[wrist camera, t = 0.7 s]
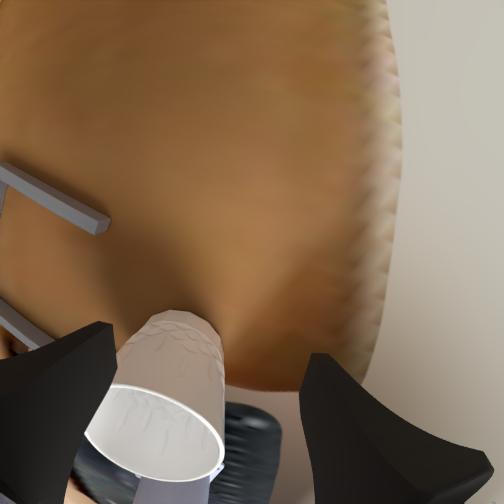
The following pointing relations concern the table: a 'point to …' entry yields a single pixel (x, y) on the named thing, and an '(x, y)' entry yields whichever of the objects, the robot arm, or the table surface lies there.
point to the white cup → (165, 401)
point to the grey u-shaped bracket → (60, 205)
